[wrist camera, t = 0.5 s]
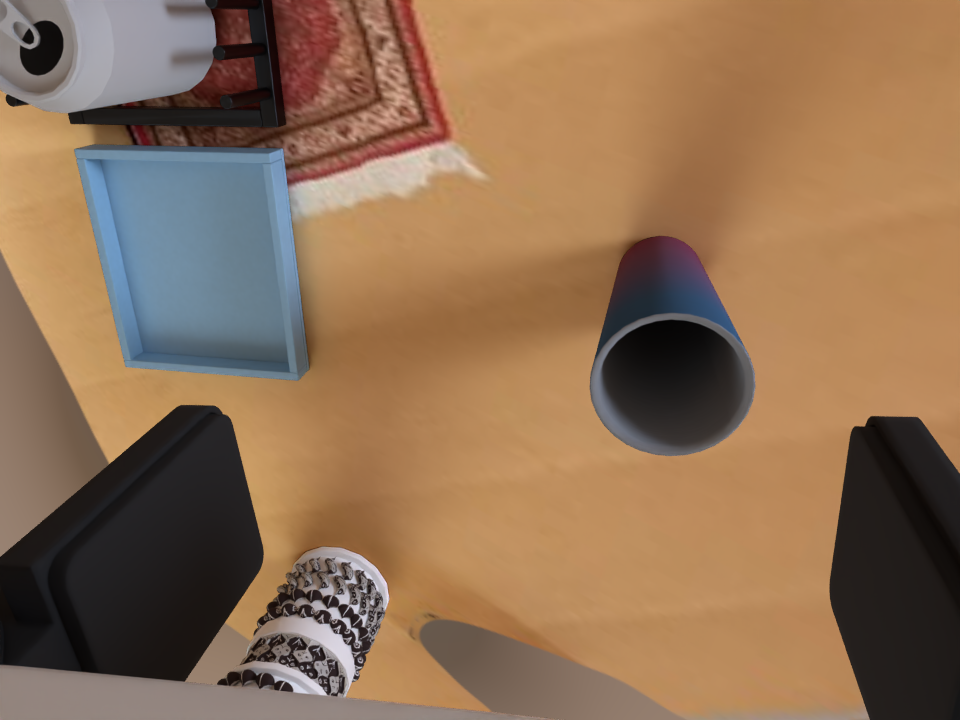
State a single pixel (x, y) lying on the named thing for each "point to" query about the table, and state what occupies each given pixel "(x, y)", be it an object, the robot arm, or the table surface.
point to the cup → (669, 355)
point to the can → (102, 50)
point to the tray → (198, 257)
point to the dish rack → (230, 112)
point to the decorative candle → (316, 626)
